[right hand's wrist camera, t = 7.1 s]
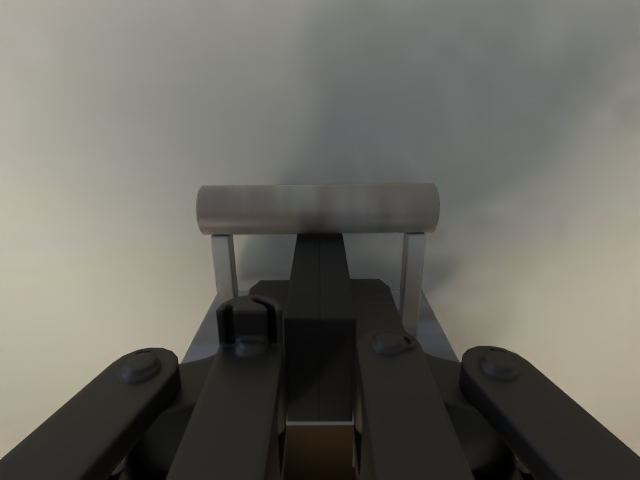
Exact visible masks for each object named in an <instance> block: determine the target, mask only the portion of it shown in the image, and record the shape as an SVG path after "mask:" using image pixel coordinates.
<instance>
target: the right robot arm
mask: <svg viewBox="0 0 640 480" xmlns="http://www.w3.org/2000/svg"><path fill="white" fill-rule="evenodd" d="M216 316H217V326H218V335H219V344H220V345H219V348H218V350H217V353H216V354H214V355H212V356H210V357H207V358H204V359H200V360H196V361H192V362H187V363H182V364H178V357H177V356H176V355H175V354H174V353H173V352H172V351H170V350H167V349H164V348H146V349H140V350H136V351H134V352H132V353H129V354H127V355H124V356H122V357H121V358H119V359H118V360H116V361H115V362H113V363H112V364H111V365H110V366H108V367H107V368H106V369H105V370H104V371H103V372H101V373H100V374H99V375H98V376H97V377H96V378H95V379H93V380H92V381H91V382H90V383H89V384H88V385H86V386H85V387H84V388H83V389H82V390H81V391H79V392H78V393H77V394H76V395H75V396H74V397H73V398H71V399H70V400H69V401H68V402H67V403H66V404H64V405H63V406H62V407H61V408H60V409H59V410H57V411H56V412H55V413H54V414H53V415H52V416H51V417H49V418H48V419H47V420H46V421H45V422H44V423H42V424H41V425H40V426H39V427H38V428H37V429H36V430H34V431H33V432H32V433H31V434H30V435H29V436H27V437H26V438H25V439H24V440H23V441H22V442H20V443H19V444H18V445H17V446H16V447H15V448H14V449H12V450H11V451H10V452H9V453H8V454H7V455H5V456H4V457H3V458H2V459H1V460H0V480H283V478H284V467H285V457H286V446H287V431H286V420H287V422H352V419H354V431H353V456H352V467H356V478H357V480H640V457H639V456H638V455H637V454H636V453H634V452H633V451H632V450H631V449H630V448H629V447H627V446H626V445H625V444H624V443H623V442H622V441H620V440H619V439H618V438H617V437H616V436H615V435H613V434H612V433H611V432H610V431H609V430H608V429H606V428H605V427H604V426H603V425H602V424H601V423H599V422H598V421H597V420H596V419H595V418H594V417H592V416H591V415H590V414H589V413H588V412H587V411H585V410H584V409H583V408H582V407H581V406H580V405H578V404H577V403H576V402H575V401H574V400H573V399H571V398H570V397H569V396H568V395H567V394H566V393H564V392H563V391H562V390H561V389H560V388H559V387H557V386H556V385H555V384H554V383H553V382H552V381H550V380H549V379H548V378H547V377H546V376H545V375H543V374H542V373H541V372H540V371H539V370H538V369H536V368H535V367H534V366H533V365H532V364H531V363H529V362H528V361H527V360H525V359H524V358H522V357H521V356H519V355H518V354H516V353H513V352H511V351H508V350H506V349H503V348H499V347H493V346H477V347H474V348H471V349H468V350H467V351H466V352H465V353H464V354H463V356H462V363H461V362H457V361H452V360H447V359H442V358H439V357H435V356H432V355H429V354H427V353H425V352H423V350H422V347H421V345H420V343H419V342H418V341H417V339H416V338H415V337H413V336H412V335H410V334H409V333H407V332H406V331H405V329H404V326H403V323H402V320H401V318H400V315H399V312H398V310H397V307H396V304H395V301H394V299H393V296H392V293H391V290H390V288H389V287H388V286H387V285H386V284H385V283H383V282H382V281H381V280H380V279H350V278H349V272H348V266H347V260H346V253H345V247H344V241H343V235H342V233H337V234H297V240H296V247H295V253H294V259H293V265H292V271H291V277H290V280H260V281H259V282H258V283H257V284H256V285H254V286H253V287H252V288H251V289H250V292H249V294H248V295H245V296H240V297H236V298H233V299H230V300H228V301H226V302H224V303H223V304H221V305H220V306H219V307H218V309H217V310H216Z"/></svg>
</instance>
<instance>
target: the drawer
mask: <svg viewBox="0 0 640 480" xmlns="http://www.w3.org/2000/svg"><path fill="white" fill-rule="evenodd" d="M439 212H440V202H439V194H438V190H437V187H436V186H435V184H433V183H410V184H320V185H230V186H202V187H201V188H200V189H199V191H198V195H197V201H196V215H197V222H198V226H199V229H200V231H201V233H202V234H204V235H212V236H211V243H212V252H213V261H214V269H215V278H216V286H217V295H216V297H215V299H214V301H213V303H212V305H211V306H210V308H209V310H208V312H207V314H206V316H205V318H204V320H203V322H202V324H201V326H200V328H199V330H198V331H197V333H196V335H195V337H194V339H193V341H192V343H191V345H190V347H189V349H188V351H187V353H186V354H185V356H184V358H183V360H182V362H181V364H182V363H187V362H192V361H196V360H200V359H204V358H207V357H210V356H212V355H214V354H216V353H217V350H218V348H219V345H220V344H219V335H218V326H217V316H216V310H217V309H218V307H219V306H220V305H221V304H223V303H224V302H226V301H228V300H230V299H233V298H236V297H240V296H245V295H248V294H249V292H238V285H237V275H236V264H235V254H234V244H233V235H243V234H337V233H404V243H403V258H402V272H401V287H400V290H391V293H392V296H393V299H394V301H395V304H396V307H397V310H398V312H399V315H400V318H401V320H402V323H403V326H404V329H405V331H406V332H407V333H409V334H410V335H412V336H413V337H415V338H416V339H417V341H418V342H419V343H420V345H421V347H422V350H423V352H425V353H427V354H429V355H432V356H435V357H439V358H442V359H447V360H452V361H457V362H459V360H458V358H457V357H456V355H455V353H454V351H453V349H452V347H451V345H450V343H449V341H448V339H447V337H446V336H445V334H444V332H443V330H442V328H441V326H440V324H439V322H438V320H437V318H436V317H435V315H434V313H433V311H432V309H431V307H430V305H429V303H428V301H427V299H426V297H425V296H424V294H423V292H422V290H421V285H422V274H423V263H424V252H425V241H426V234H425V233H430V232H434V231H435V229H436V227H437V224H438V220H439ZM286 431H287V446H286V457H285V467H284V478H283V480H357V478H356V467H352V456H353V431H354V419H352V422H287V420H286Z"/></svg>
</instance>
